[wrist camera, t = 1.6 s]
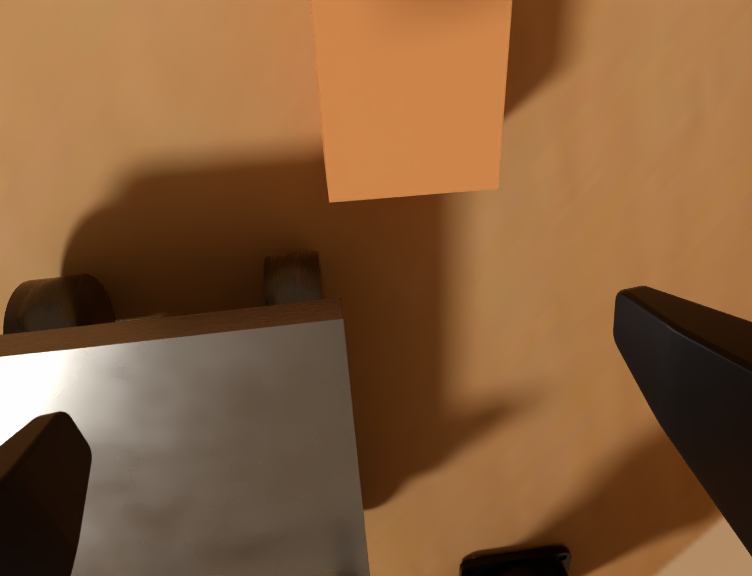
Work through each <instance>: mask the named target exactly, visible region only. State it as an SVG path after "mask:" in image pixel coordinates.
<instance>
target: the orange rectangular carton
mask: <svg viewBox="0 0 752 576" xmlns="http://www.w3.org/2000/svg"><path fill="white" fill-rule="evenodd" d="M310 8H311V19H312V30H313V41H314V52H315V63H316V74H317V86H318V97H319V108H320V119H321V130H322V141H323V152H324V163H325V171H326V179H327V188H328V196H329V203H330V202H342V201H355V200H367V199H379V198H391V197H404V196H416V195H428V194H440V193H453V192H465V191H477V190H489V189H498V184H499V171H500V157H501V144H502V131H503V118H504V104H505V91H506V78H507V65H508V51H509V38H510V25H511V12H512V0H310Z"/></svg>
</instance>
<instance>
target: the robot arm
mask: <svg viewBox="0 0 752 576" xmlns="http://www.w3.org/2000/svg"><path fill="white" fill-rule="evenodd" d="M613 335H614V340H615V343H616V345H617V347H618V349H619V351H620V353H621V355H622V357H623V359H624V360H625V362H626V364H627V366H628V368H629V370H630V371H631V373H632V375H633V377H634V379H635V381H636V383H637V384H638V386H639V388H640V390H641V392H642V394H643V395H644V397H645V399H646V401H647V403H648V405H649V407H650V408H651V410H652V412H653V414H654V415H655V417H656V419H657V421H658V422H659V424H660V425H661V427H662V428H663V430H664V431H665V433H666V434H667V436H668V437H669V439H670V440H671V442H672V443H673V444H674V446H675V447H676V449H677V450H678V452H679V453H680V454H681V456H682V457H683V459H684V460H685V462H686V463H687V465H688V466H689V467H690V469H691V470H692V472H693V473H694V475H695V476H696V477H697V479H698V480H699V482H700V483H701V485H702V486H703V487H704V489H705V490H706V492H707V493H708V495H709V496H710V497H711V499H712V500H713V502H714V503H715V505H716V506H717V507H718V509H719V510H720V512H721V513H722V515H723V516H724V518H725V519H726V520H727V522H728V523H729V525H730V526H731V527H732V529H733V530H734V532H735V533H736V535H737V536H738V538H739V539H740V540H741V542H742V543H743V545H744V546H745V547H746V549H747V550H748V552H749V553H750V555H751V556H752V322H750V321H747V320H745V319H742V318H739V317H736V316H733V315H730V314H727V313H724V312H721V311H718V310H715V309H712V308H709V307H706V306H703V305H700V304H697V303H694V302H691V301H688V300H686V299H683V298H680V297H677V296H674V295H671V294H668V293H665V292H662V291H659V290H656V289H653V288H650V287H647V286H638V287H633V288H628V289H624V290H621V291H620V292H618V293H617V296H616V300H615V312H614V326H613ZM91 463H92V453H91V448H90V446H89V444H88V442H87V441H86V439H85V438H84V436H83V435H82V433H81V431H80V430H79V428H78V427H77V425H76V424H75V422H74V421H73V419H72V418H71V416H70V415H69V414H67V413H66V412H62V411H59V412H54V413H49V414H45V415H40V416H38V417H35V418H34V419H33V420H31V421H30V422H29V423H28V424H26V425H25V426H24V427H23V428H21V429H20V430H19V431H18V432H16V433H15V434H14V435H13V436H12V437H10V438H9V439H8V440H7V441H5V442H4V443H3V444H2V445H0V576H71V573H72V569H73V566H74V561H75V557H76V553H77V549H78V544H79V538H80V533H81V526H82V520H83V514H84V507H85V501H86V495H87V488H88V482H89V476H90V469H91ZM570 560H571V554H570V552H569V550H568V548H567V547H565V546H560V547H554V548H547V549H540V550H533V551H526V552H520V553H513V554H506V555H499V556H492V557H486V558H479V559H472V560H467V561H464V562H462V563H461V564H460V569H459V576H568V570H569V565H570Z"/></svg>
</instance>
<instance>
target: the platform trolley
mask: <svg viewBox="0 0 752 576" xmlns="http://www.w3.org/2000/svg"><path fill="white" fill-rule="evenodd" d="M264 294H265V306H261V307H252V308H243V309H234V310H225V311H215V312H206V313H197V314H188V315H179V316H170V317H160V318H151V319H142V320H133V321H124V322H116V321H115V316H114V312H113V308H112V305H111V302H110V299H109V297H108V295H107V293H106V291H105V289H104V287H103V286H102V284H101V283H100V282H99V281H98V280H97V279H96V278H94V277H93V276H91V275H78V276H68V277H58V278H49V279H39V280H29V281H26V282H23V283H22V284H20V285H19V286H18V287H17V288H16V289H15V291H14V292H13V294H12V295H11V297H10V299H9V302H8V304H7V308H6V311H5V317H4V325H3V335H0V445H2V444H3V443H4V442H5V441H7V440H8V439H9V438H10V437H12V436H13V435H14V434H15V433H16V432H18V431H19V430H20V429H21V428H23V427H24V426H25V425H26V424H28V423H29V422H30V421H31V420H33V419H34V418H35V417H38V416H40V415H45V414H49V413H54V412H59V411H62V412H66V413H67V414H69V415H70V416H71V418H72V419H73V421H74V422H75V424H76V425H77V427H78V428H79V430H80V431H81V433H82V435H83V436H84V438H85V439H86V441H87V442H88V444H89V446H90V448H91V453H92V463H91V469H90V476H89V482H88V488H87V495H86V501H85V507H84V514H83V520H82V526H81V533H80V538H79V544H78V549H77V553H76V557H75V561H74V566H73V569H72V573H71V576H370V572H369V563H368V553H367V543H366V534H365V524H364V514H363V505H362V495H361V485H360V476H359V466H358V456H357V447H356V437H355V427H354V418H353V408H352V398H351V389H350V379H349V369H348V360H347V350H346V340H345V331H344V321H343V312H342V304H341V298H334V299H325V298H324V289H323V281H322V273H321V265H320V258H319V252H318V251H312V252H302V253H293V254H283V255H273V256H266V258H265V262H264Z"/></svg>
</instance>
